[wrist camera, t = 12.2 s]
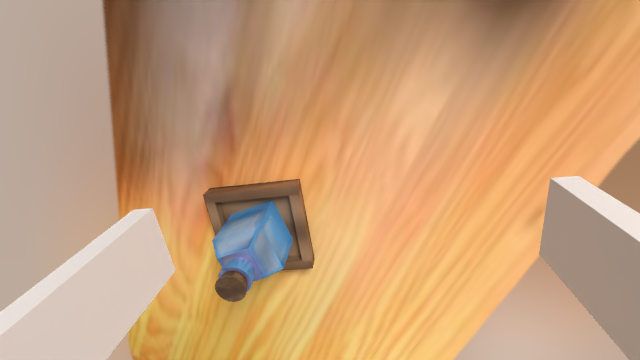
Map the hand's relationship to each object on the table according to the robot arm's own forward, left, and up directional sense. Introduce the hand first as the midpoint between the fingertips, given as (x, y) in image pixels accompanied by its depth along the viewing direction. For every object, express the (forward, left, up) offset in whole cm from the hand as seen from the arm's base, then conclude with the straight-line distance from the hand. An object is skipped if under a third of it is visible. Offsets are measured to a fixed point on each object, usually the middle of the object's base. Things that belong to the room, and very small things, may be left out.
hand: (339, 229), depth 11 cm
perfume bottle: (+15, -13, -27) cm, 34 cm away
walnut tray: (+15, -13, -28) cm, 34 cm away
